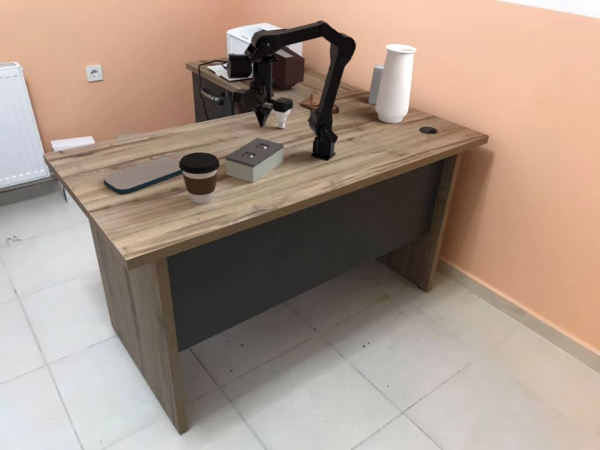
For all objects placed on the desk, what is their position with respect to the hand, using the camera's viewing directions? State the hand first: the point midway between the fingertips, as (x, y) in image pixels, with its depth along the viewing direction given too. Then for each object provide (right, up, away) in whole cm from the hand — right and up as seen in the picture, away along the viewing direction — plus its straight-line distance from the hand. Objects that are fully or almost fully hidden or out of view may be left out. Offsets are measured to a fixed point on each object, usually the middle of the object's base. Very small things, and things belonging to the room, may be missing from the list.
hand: (261, 126), depth 156 cm
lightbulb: (+5, +5, +32) cm, 33 cm away
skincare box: (+47, +23, +63) cm, 82 cm away
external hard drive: (-34, -17, -6) cm, 39 cm away
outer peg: (-4, -14, -1) cm, 15 cm away
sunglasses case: (+19, +17, +53) cm, 59 cm away
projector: (+2, +34, +76) cm, 83 cm away
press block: (-2, -13, +2) cm, 13 cm away
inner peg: (0, -11, +5) cm, 12 cm away
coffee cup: (-16, -24, -16) cm, 33 cm away
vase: (+49, +12, +47) cm, 69 cm away
